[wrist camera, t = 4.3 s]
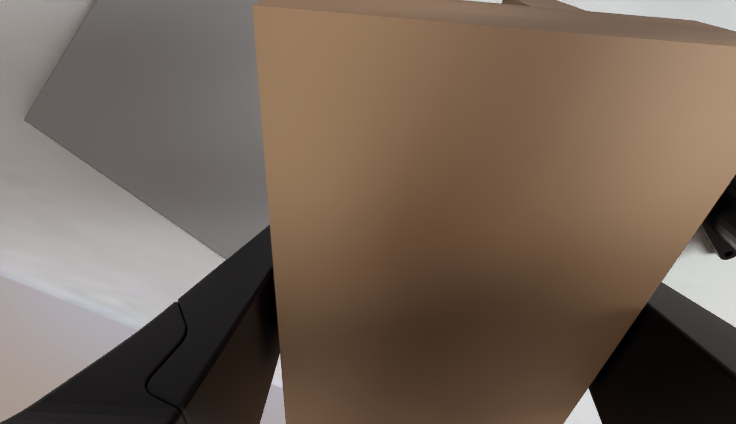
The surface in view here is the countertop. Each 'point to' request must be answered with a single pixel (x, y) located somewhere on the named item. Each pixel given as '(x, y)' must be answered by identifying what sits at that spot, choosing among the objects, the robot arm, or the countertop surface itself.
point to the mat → (167, 111)
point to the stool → (477, 196)
